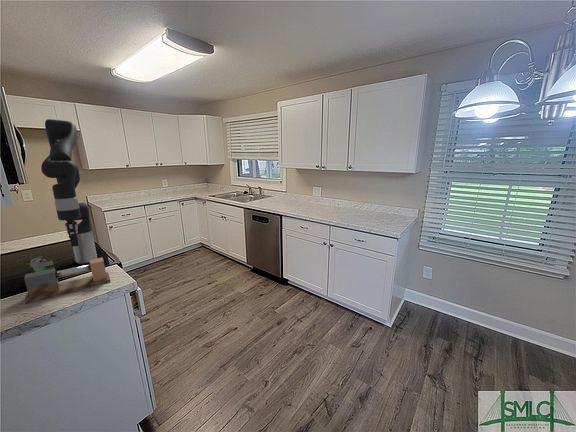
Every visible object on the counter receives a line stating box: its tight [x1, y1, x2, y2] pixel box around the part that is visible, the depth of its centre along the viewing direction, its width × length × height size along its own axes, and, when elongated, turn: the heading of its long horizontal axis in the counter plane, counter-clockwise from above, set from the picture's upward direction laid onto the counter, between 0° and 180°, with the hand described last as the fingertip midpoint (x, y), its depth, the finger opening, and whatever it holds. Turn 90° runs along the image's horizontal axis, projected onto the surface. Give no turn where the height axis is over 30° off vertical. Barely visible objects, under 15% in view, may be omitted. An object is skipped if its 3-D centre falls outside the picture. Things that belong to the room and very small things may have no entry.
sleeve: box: [23, 267, 57, 289], centre depth 103 cm, size 9×5×4 cm, turn 130°
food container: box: [29, 255, 55, 272], centre depth 116 cm, size 12×6×10 cm, turn 62°
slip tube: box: [55, 263, 92, 279], centre depth 110 cm, size 17×3×3 cm, turn 130°
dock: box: [24, 271, 111, 305], centre depth 110 cm, size 28×10×6 cm, turn 130°
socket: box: [89, 257, 107, 281], centre depth 116 cm, size 5×5×9 cm
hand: (75, 243), depth 109 cm, fingers open, 8 cm apart
